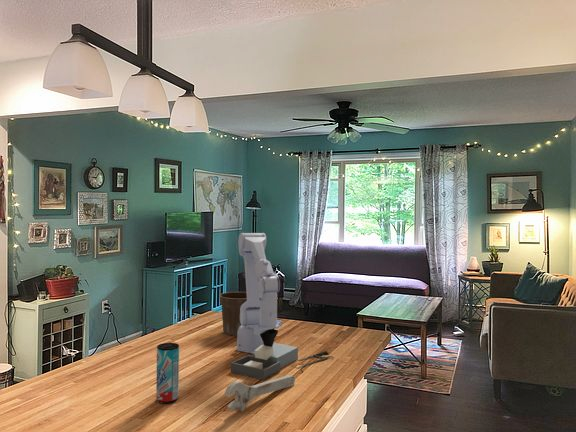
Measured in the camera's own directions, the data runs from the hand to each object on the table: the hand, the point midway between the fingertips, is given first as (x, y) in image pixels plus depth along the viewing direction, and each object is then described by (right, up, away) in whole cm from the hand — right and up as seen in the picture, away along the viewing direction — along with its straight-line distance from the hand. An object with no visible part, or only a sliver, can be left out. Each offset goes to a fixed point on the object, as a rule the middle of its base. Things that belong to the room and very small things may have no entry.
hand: (268, 351), depth 159 cm
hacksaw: (+15, -6, +4) cm, 17 cm away
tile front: (-5, -2, -8) cm, 9 cm away
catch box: (-4, -5, -6) cm, 9 cm away
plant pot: (-15, -4, +41) cm, 44 cm away
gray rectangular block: (+2, -5, +4) cm, 7 cm away
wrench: (0, -6, -28) cm, 28 cm away
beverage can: (-27, -5, -30) cm, 40 cm away
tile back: (-1, -1, -2) cm, 3 cm away
